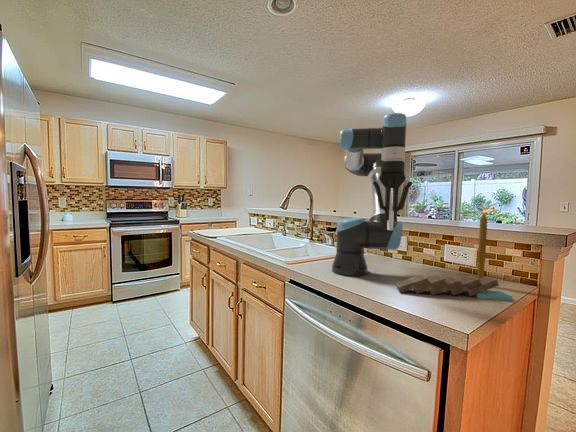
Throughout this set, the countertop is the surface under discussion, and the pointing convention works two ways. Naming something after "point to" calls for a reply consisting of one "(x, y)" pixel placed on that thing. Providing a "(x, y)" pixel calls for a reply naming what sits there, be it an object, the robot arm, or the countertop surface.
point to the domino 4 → (465, 285)
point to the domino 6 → (494, 295)
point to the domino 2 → (431, 284)
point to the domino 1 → (412, 283)
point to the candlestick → (482, 246)
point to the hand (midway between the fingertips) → (390, 229)
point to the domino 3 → (447, 286)
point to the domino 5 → (482, 286)
